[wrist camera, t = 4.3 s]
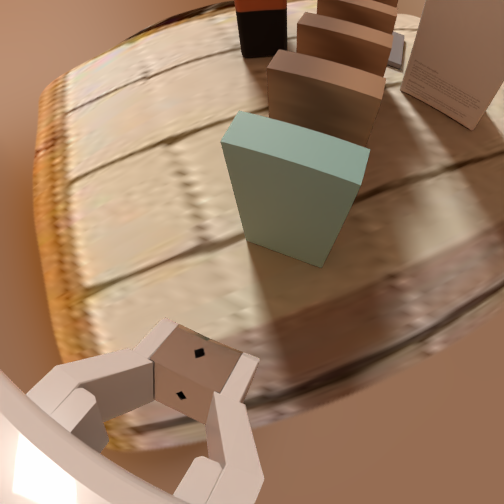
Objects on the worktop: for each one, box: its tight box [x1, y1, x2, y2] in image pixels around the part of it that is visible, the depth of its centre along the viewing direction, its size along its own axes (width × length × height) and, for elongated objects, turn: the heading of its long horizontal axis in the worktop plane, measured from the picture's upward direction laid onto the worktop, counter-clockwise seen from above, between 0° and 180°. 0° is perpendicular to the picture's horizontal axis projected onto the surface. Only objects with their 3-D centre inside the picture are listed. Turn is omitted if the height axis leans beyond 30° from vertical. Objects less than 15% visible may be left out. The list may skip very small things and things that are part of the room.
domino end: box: [221, 111, 370, 268], centre depth 15 cm, size 5×2×10 cm, turn 67°
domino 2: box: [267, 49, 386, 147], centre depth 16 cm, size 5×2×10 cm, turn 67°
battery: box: [234, 0, 287, 58], centre depth 22 cm, size 4×7×10 cm, turn 4°
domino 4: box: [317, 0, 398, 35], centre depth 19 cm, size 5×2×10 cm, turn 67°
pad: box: [387, 32, 404, 69], centre depth 26 cm, size 9×7×1 cm
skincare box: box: [400, 0, 504, 130], centre depth 16 cm, size 8×7×16 cm
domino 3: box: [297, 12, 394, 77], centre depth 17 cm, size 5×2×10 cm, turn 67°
